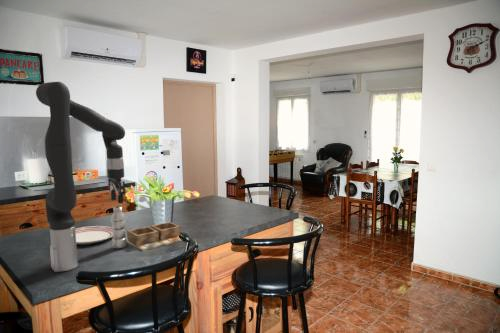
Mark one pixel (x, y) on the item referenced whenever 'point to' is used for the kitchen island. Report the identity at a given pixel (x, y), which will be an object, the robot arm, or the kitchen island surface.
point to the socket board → (154, 236)
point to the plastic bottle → (118, 228)
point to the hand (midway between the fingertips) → (117, 201)
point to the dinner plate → (93, 234)
